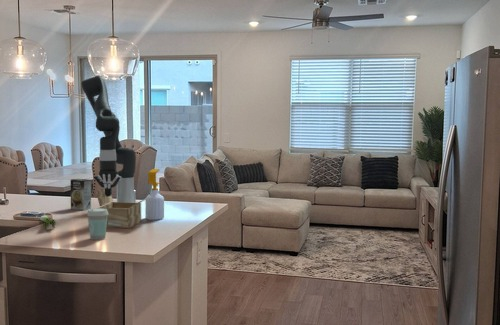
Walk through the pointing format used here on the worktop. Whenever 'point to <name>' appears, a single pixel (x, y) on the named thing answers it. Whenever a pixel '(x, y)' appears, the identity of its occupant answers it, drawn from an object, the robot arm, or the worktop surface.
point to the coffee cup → (97, 223)
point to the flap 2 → (140, 201)
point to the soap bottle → (154, 199)
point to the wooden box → (122, 214)
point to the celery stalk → (46, 219)
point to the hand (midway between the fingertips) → (108, 196)
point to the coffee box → (80, 194)
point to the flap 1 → (103, 197)
